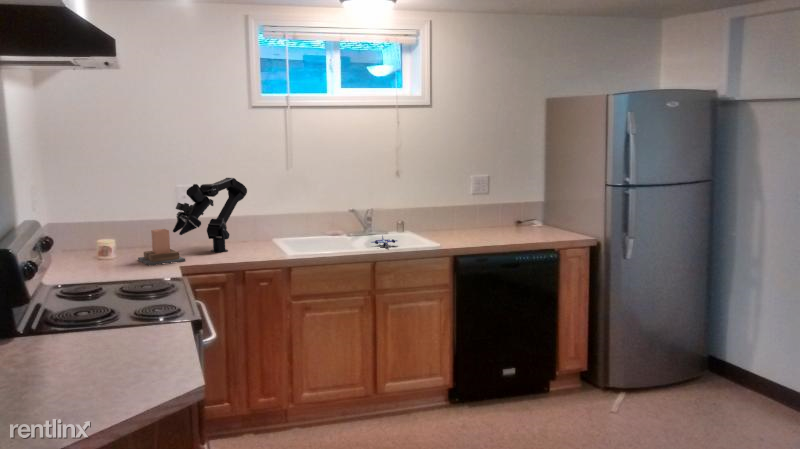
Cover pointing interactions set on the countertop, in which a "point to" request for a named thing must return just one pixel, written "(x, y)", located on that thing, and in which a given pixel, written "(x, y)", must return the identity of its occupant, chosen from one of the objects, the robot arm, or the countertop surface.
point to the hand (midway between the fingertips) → (176, 233)
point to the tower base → (161, 257)
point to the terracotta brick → (160, 241)
